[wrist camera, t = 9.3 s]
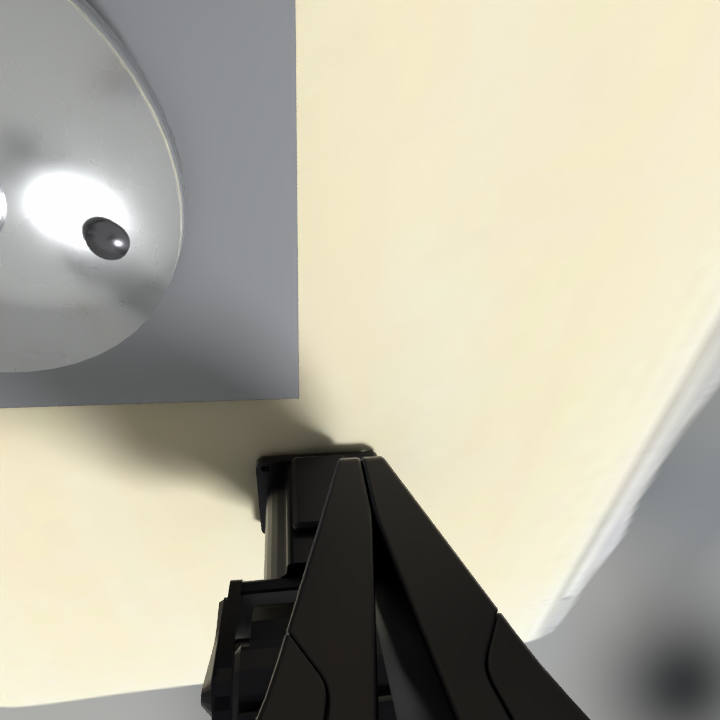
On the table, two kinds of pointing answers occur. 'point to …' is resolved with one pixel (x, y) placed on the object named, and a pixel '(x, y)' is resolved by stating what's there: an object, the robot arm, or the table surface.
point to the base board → (209, 214)
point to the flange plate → (79, 188)
